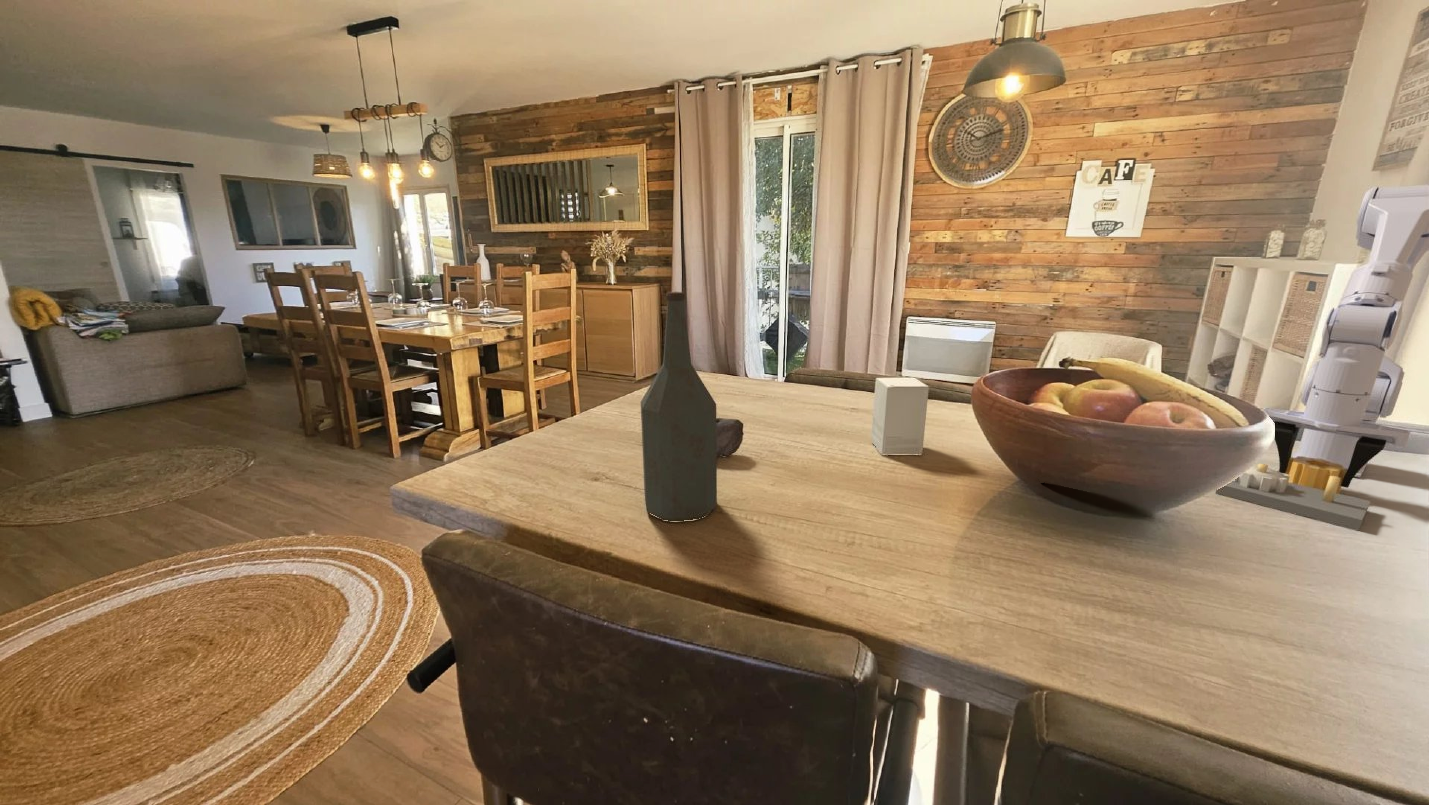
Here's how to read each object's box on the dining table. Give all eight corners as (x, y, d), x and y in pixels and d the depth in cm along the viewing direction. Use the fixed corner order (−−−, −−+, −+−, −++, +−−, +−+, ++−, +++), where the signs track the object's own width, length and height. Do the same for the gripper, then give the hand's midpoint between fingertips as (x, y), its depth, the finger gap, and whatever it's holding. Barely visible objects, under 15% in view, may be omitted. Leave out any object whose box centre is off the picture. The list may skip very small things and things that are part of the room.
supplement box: (923, 456, 96) (930, 386, 92) (880, 456, 96) (886, 386, 93) (909, 442, 103) (915, 376, 100) (869, 442, 103) (874, 376, 100)
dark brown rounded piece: (655, 457, 96) (654, 420, 94) (664, 447, 101) (663, 411, 99) (739, 464, 93) (740, 425, 91) (744, 453, 98) (744, 416, 96)
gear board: (1231, 478, 86) (1239, 448, 85) (1366, 511, 75) (1378, 477, 74) (1215, 493, 81) (1223, 461, 79) (1358, 530, 70) (1370, 494, 69)
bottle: (630, 507, 77) (619, 292, 69) (680, 486, 84) (675, 287, 76) (680, 532, 71) (674, 296, 63) (730, 506, 78) (731, 291, 69)
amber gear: (1286, 477, 86) (1293, 453, 85) (1341, 489, 82) (1349, 464, 81) (1279, 486, 83) (1286, 462, 82) (1335, 500, 78) (1343, 474, 77)
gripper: (1264, 384, 82) (1241, 469, 85) (1419, 406, 70) (1385, 502, 74) (1274, 378, 86) (1252, 459, 89) (1423, 397, 74) (1390, 489, 78)
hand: (1313, 478), depth 82 cm, fingers closed on amber gear, 6 cm apart
